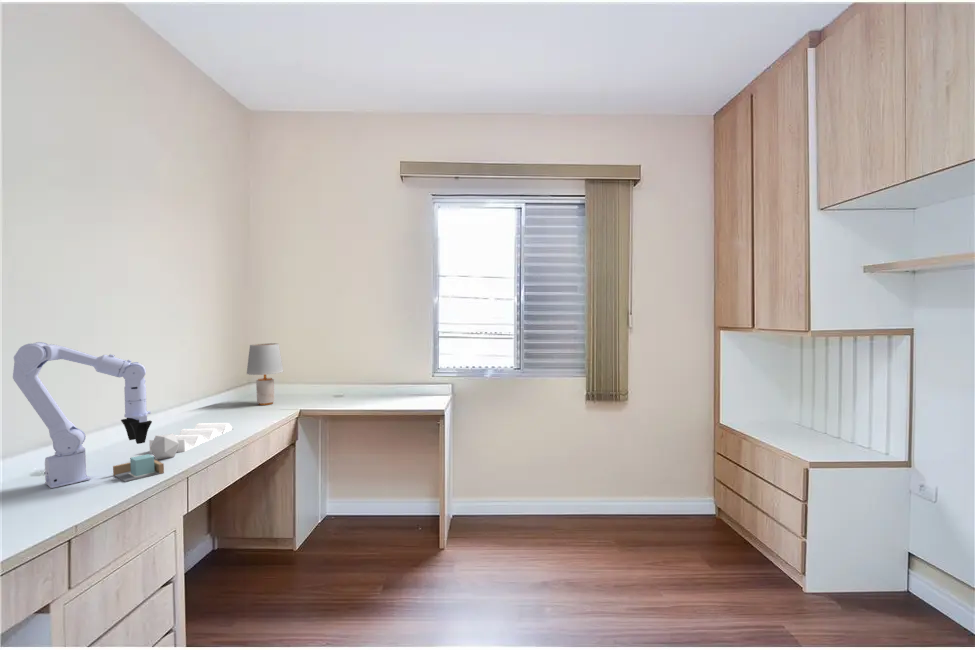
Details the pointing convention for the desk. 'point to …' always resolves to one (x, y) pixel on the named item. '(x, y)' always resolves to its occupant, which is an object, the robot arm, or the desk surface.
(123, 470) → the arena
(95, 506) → the desk surface
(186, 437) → the file organizer
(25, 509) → the desk surface
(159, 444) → the die
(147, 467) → the cube
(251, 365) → the lamp
